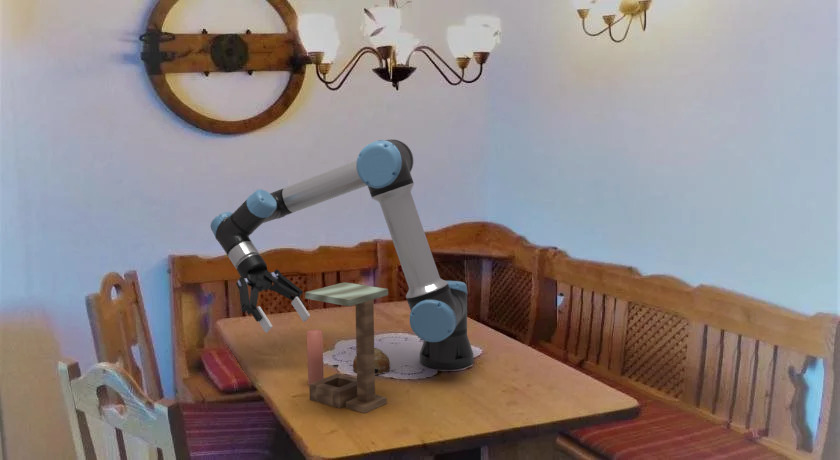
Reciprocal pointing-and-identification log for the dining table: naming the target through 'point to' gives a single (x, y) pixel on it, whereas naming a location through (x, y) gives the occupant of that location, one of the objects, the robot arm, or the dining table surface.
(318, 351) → the peg
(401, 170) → the robot arm
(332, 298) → the awning socket
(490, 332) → the dining table surface
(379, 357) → the bread roll
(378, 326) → the dining table surface
